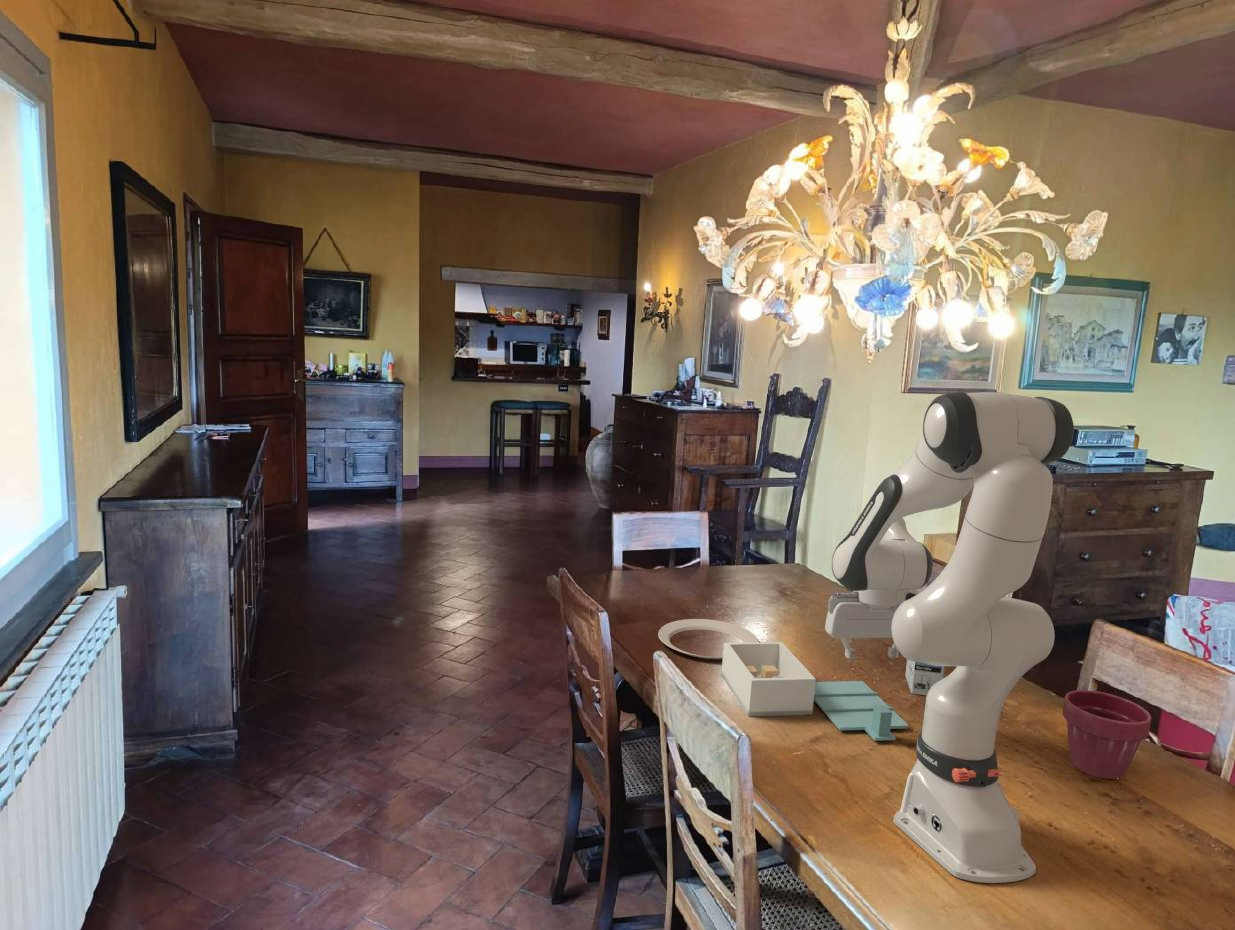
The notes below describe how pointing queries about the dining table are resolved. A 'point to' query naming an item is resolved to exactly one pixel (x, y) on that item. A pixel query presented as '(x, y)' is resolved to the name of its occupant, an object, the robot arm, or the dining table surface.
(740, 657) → the tub
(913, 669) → the light bulb box
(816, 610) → the dining table surface
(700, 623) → the beige flat ring
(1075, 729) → the plant pot
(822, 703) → the lid
